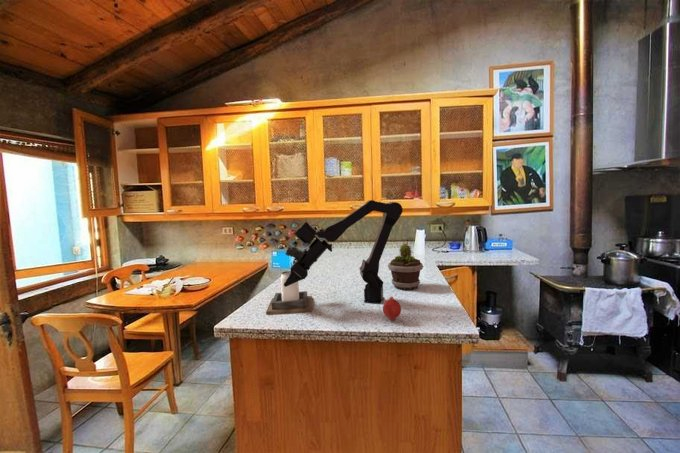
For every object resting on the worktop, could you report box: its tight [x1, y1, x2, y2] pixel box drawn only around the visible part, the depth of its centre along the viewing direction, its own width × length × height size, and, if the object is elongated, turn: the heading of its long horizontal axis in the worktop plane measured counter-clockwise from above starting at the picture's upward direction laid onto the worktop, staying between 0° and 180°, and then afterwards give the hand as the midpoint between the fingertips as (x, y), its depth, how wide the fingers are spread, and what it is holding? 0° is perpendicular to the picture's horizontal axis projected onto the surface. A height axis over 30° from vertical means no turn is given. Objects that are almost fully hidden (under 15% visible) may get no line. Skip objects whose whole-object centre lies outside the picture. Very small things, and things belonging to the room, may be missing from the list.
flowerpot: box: [387, 242, 424, 291], centre depth 144 cm, size 14×15×20 cm
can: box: [280, 270, 300, 301], centre depth 124 cm, size 6×6×12 cm
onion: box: [382, 296, 402, 322], centre depth 106 cm, size 6×6×8 cm
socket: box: [265, 290, 313, 315], centre depth 125 cm, size 16×16×4 cm
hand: (285, 282), depth 124 cm, fingers open, 9 cm apart
